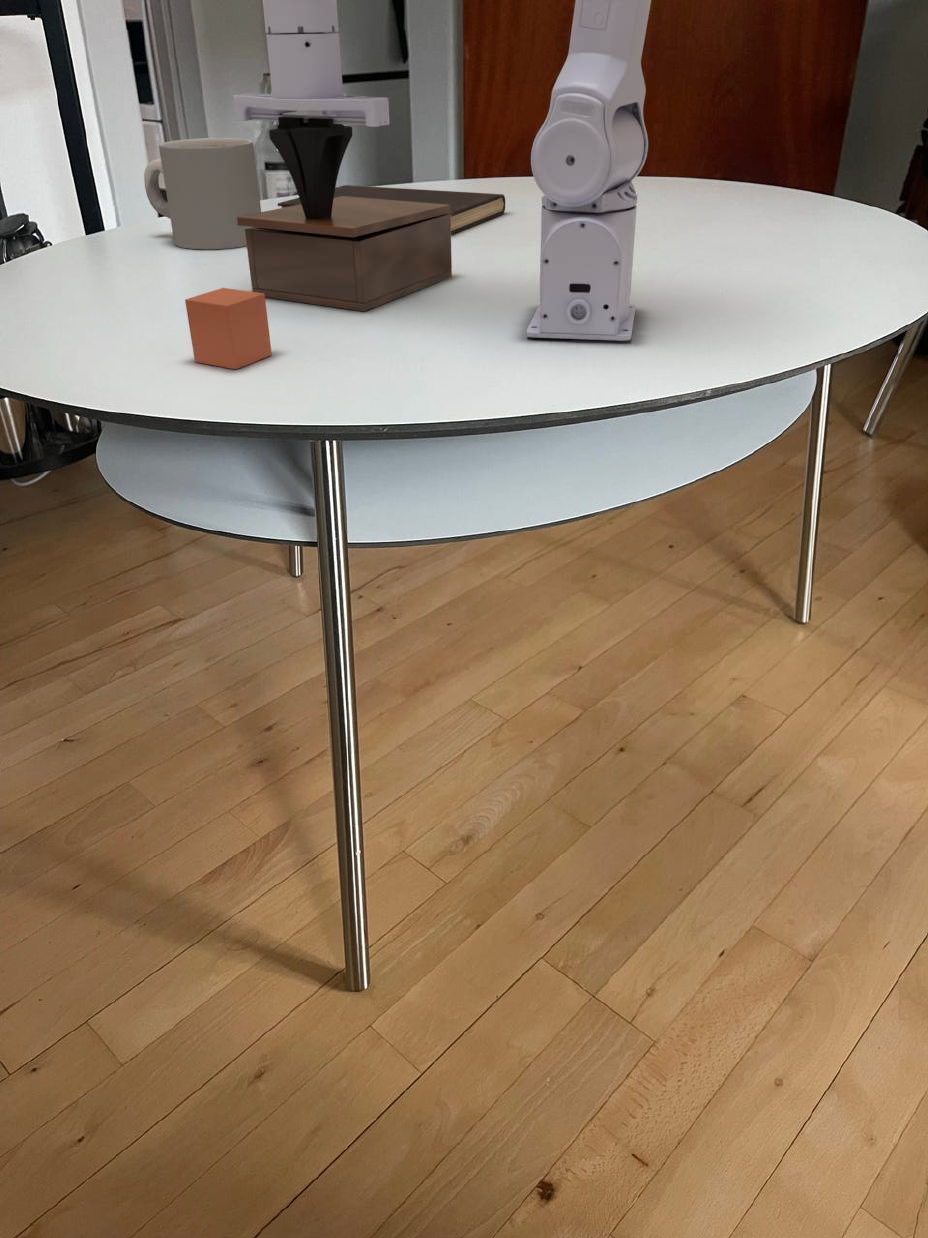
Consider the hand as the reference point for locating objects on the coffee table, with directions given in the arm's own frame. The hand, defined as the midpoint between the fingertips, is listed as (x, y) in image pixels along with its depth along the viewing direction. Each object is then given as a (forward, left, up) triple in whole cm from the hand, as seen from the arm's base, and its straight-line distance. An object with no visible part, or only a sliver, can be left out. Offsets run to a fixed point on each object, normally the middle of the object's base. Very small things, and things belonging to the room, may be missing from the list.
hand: (318, 216), depth 85 cm
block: (-19, +1, -7) cm, 20 cm away
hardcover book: (+39, +3, -7) cm, 40 cm away
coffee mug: (+24, +21, -7) cm, 33 cm away
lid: (+4, -1, -1) cm, 4 cm away
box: (+4, -2, -7) cm, 8 cm away
